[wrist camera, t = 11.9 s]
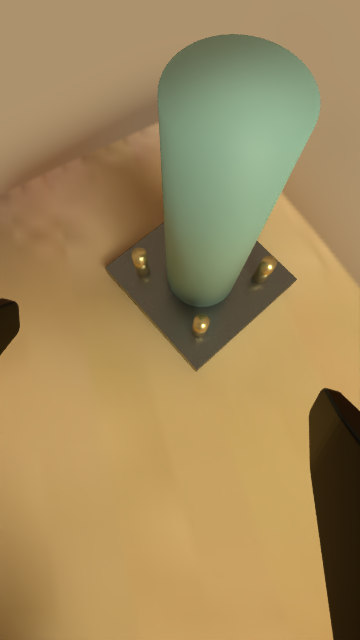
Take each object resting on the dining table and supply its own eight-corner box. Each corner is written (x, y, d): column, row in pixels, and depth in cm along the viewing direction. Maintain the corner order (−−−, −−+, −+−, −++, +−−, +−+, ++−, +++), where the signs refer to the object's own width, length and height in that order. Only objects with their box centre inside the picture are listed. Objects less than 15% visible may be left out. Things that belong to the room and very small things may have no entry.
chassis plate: (195, 371, 22) (199, 366, 19) (107, 273, 24) (97, 251, 21) (292, 284, 24) (311, 264, 21) (203, 198, 26) (208, 168, 23)
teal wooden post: (178, 315, 22) (187, 180, 9) (158, 253, 24) (138, 52, 10) (244, 295, 23) (347, 139, 9) (221, 236, 24) (283, 21, 11)
